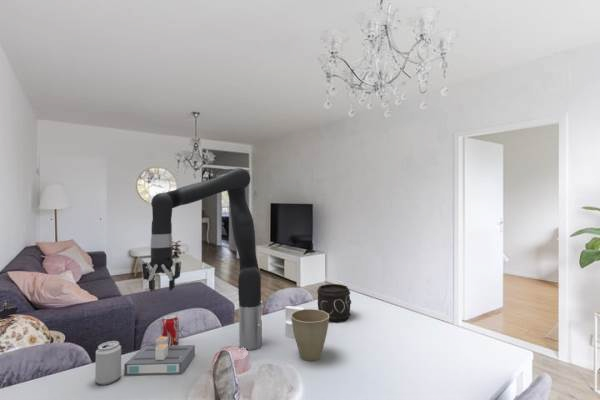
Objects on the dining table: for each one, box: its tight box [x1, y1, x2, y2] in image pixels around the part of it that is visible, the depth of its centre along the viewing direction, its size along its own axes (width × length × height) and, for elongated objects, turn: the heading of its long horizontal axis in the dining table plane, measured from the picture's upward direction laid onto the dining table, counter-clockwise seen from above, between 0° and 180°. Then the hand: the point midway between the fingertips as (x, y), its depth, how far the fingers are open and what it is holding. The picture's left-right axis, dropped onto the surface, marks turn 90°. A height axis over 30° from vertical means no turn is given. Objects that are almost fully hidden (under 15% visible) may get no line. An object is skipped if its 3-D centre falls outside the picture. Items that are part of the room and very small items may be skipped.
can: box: [95, 340, 122, 386], centre depth 105 cm, size 8×8×12 cm
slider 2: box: [155, 344, 168, 360], centre depth 111 cm, size 3×4×4 cm
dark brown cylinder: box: [316, 283, 352, 324], centre depth 162 cm, size 18×18×16 cm
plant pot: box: [291, 308, 330, 362], centre depth 119 cm, size 15×15×16 cm
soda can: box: [160, 313, 180, 346], centre depth 132 cm, size 7×7×12 cm
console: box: [123, 344, 196, 376], centre depth 114 cm, size 20×14×4 cm
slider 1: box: [155, 336, 168, 348], centre depth 118 cm, size 3×4×4 cm
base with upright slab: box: [284, 305, 306, 339], centre depth 141 cm, size 9×9×12 cm
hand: (161, 290), depth 115 cm, fingers open, 6 cm apart
